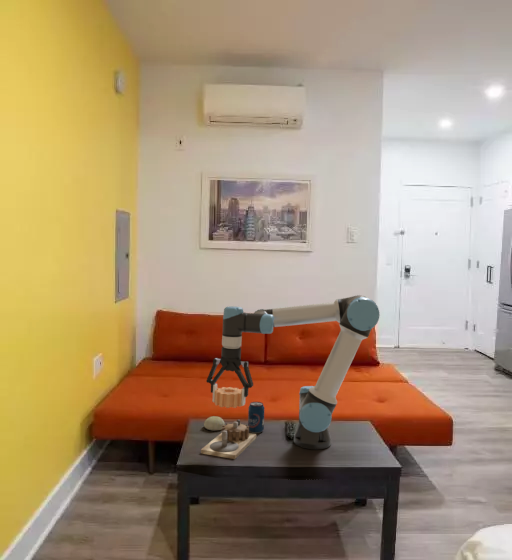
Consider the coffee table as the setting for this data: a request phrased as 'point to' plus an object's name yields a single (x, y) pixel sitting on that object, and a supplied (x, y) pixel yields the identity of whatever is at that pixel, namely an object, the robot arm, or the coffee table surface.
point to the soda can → (256, 417)
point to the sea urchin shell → (214, 423)
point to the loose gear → (228, 397)
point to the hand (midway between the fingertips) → (228, 402)
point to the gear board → (230, 441)
